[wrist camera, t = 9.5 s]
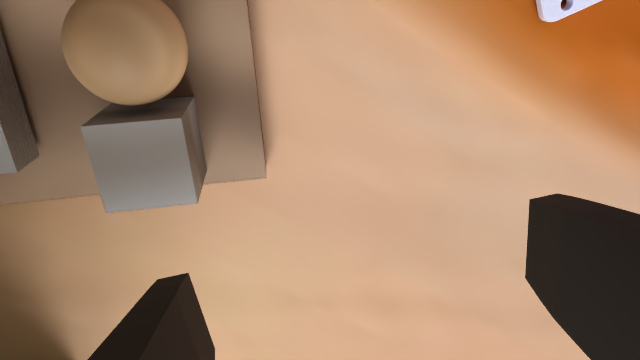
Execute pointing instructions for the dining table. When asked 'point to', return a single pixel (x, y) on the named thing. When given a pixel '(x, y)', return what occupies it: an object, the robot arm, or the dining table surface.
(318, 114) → the dining table surface
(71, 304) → the dining table surface
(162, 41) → the tan wooden ball
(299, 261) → the dining table surface
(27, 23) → the base
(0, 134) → the lever
